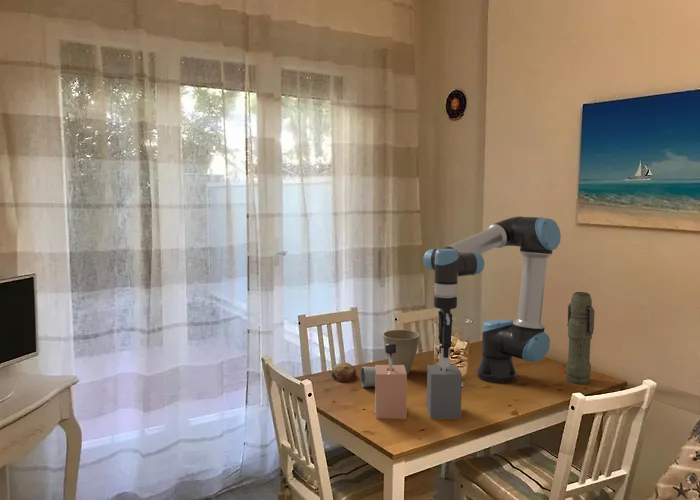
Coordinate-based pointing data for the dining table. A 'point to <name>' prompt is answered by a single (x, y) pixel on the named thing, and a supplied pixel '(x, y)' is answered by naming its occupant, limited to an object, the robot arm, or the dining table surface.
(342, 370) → the bread roll
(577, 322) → the thermos
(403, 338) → the plant pot
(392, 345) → the plunger
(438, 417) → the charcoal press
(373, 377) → the ceramic mug
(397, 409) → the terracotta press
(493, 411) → the dining table surface
